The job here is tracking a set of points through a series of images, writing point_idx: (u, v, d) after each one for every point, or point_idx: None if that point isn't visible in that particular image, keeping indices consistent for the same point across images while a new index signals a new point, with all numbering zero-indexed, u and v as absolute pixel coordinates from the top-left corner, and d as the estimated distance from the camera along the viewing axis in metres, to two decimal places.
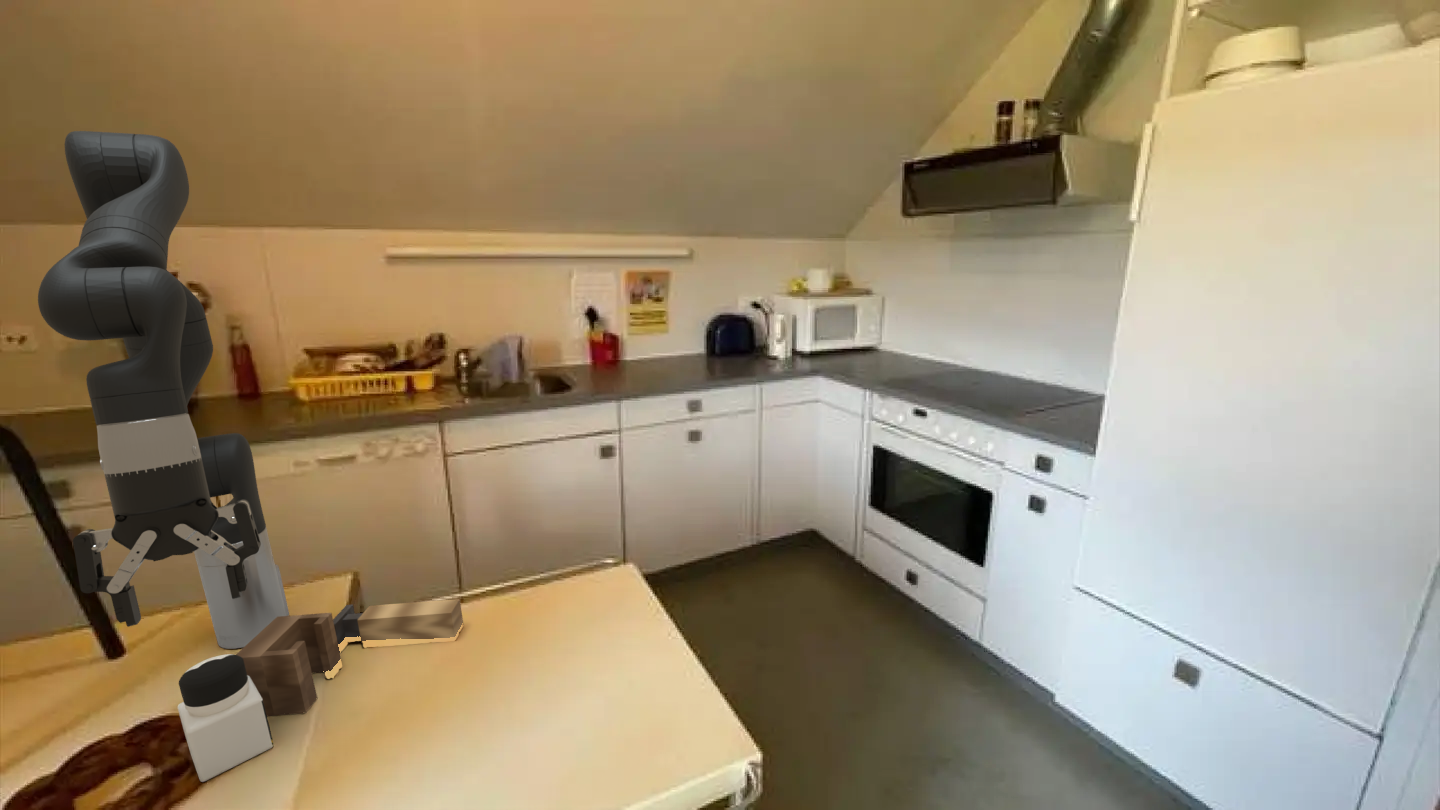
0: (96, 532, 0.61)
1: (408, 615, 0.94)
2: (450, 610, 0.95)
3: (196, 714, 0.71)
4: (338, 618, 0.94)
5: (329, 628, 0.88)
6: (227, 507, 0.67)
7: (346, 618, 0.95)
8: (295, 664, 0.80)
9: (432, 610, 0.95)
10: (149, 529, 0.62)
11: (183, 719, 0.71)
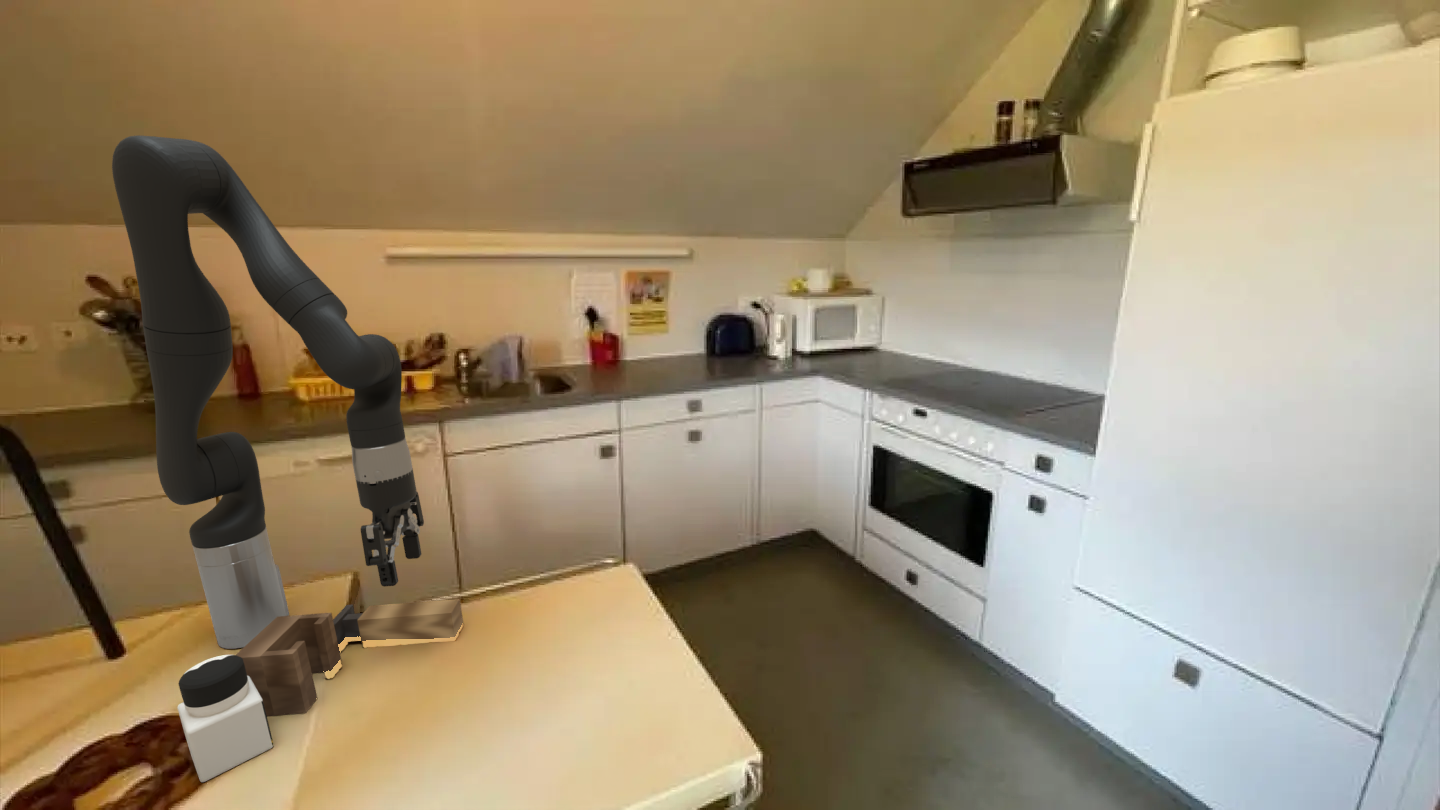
0: (376, 523, 0.86)
1: (408, 615, 0.94)
2: (450, 610, 0.95)
3: (196, 715, 0.71)
4: (338, 618, 0.94)
5: (329, 628, 0.88)
6: None
7: (346, 618, 0.95)
8: (295, 664, 0.80)
9: (432, 610, 0.95)
10: (399, 515, 0.91)
11: (183, 719, 0.71)
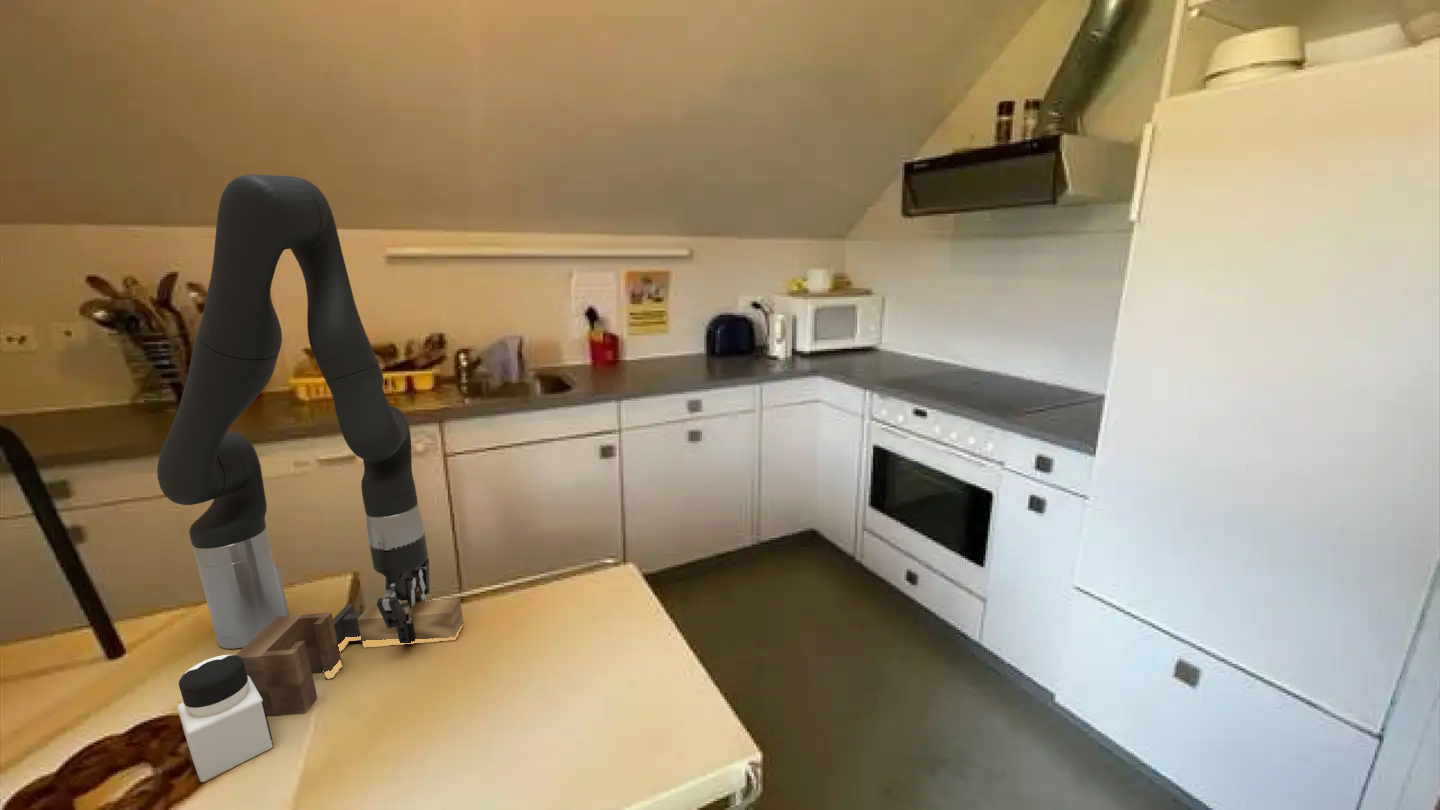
0: (391, 594, 0.89)
1: None
2: (450, 610, 0.95)
3: (196, 715, 0.71)
4: (338, 618, 0.94)
5: (329, 628, 0.88)
6: None
7: (346, 618, 0.95)
8: (295, 664, 0.80)
9: (432, 609, 0.95)
10: (410, 578, 0.93)
11: (183, 719, 0.71)
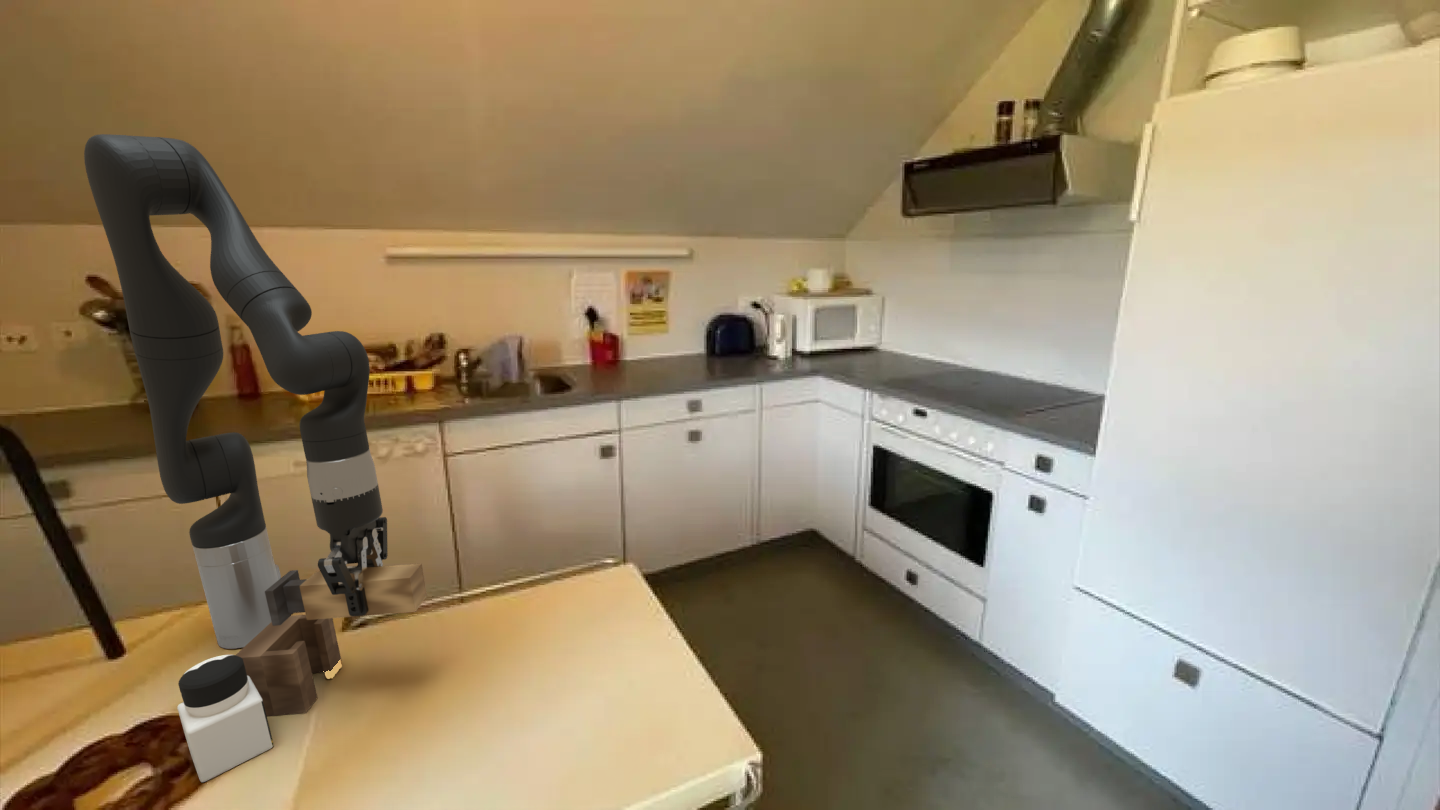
0: (335, 554, 0.76)
1: None
2: (409, 575, 0.81)
3: (196, 715, 0.71)
4: (278, 584, 0.80)
5: (329, 628, 0.88)
6: (375, 519, 0.86)
7: (288, 585, 0.81)
8: (295, 664, 0.80)
9: (388, 575, 0.82)
10: (360, 538, 0.80)
11: (183, 720, 0.71)
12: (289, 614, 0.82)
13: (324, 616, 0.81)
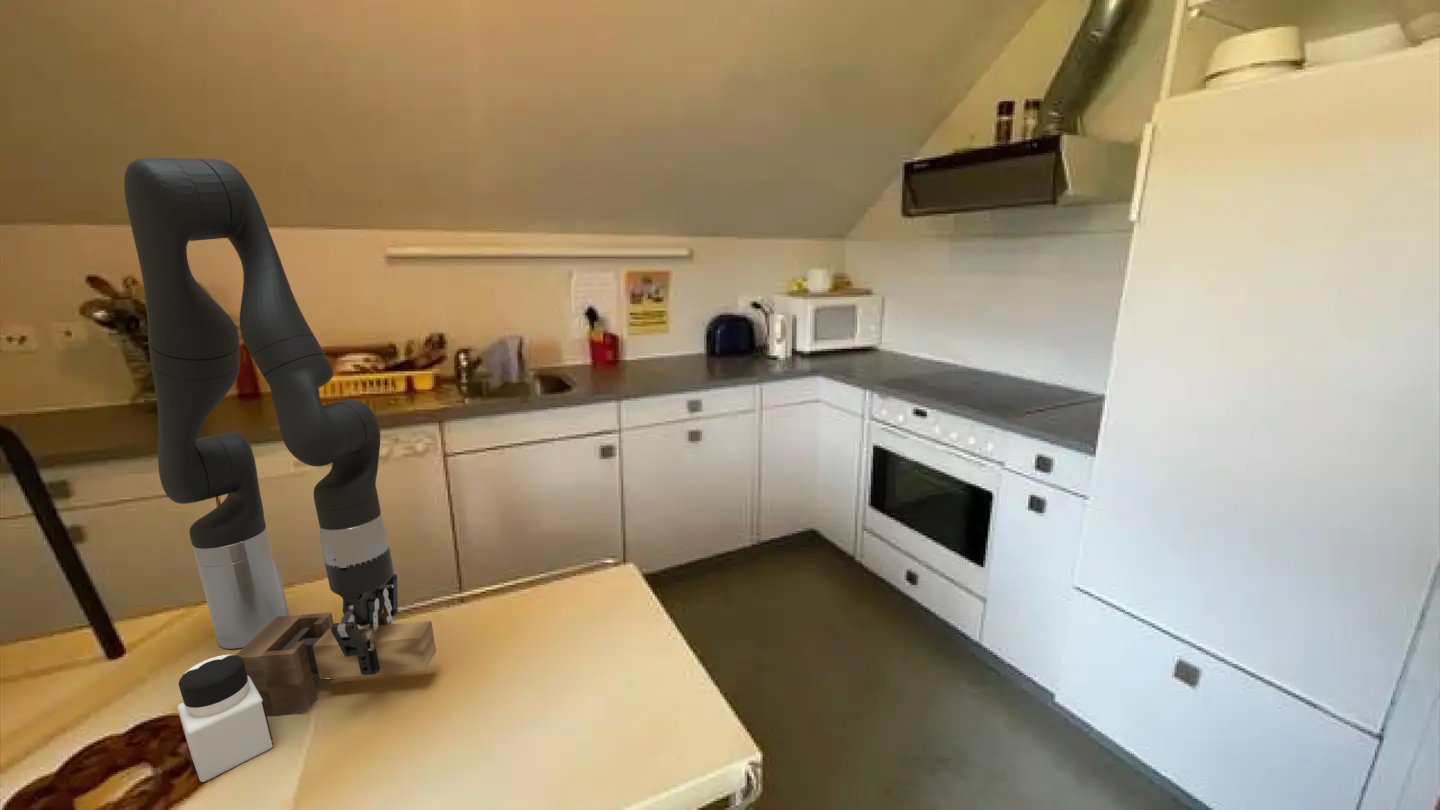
0: (348, 619, 0.78)
1: None
2: (419, 634, 0.84)
3: (196, 715, 0.71)
4: (291, 644, 0.82)
5: (329, 628, 0.88)
6: None
7: None
8: (295, 664, 0.80)
9: (398, 634, 0.84)
10: (372, 599, 0.82)
11: (183, 719, 0.71)
12: None
13: (337, 675, 0.83)
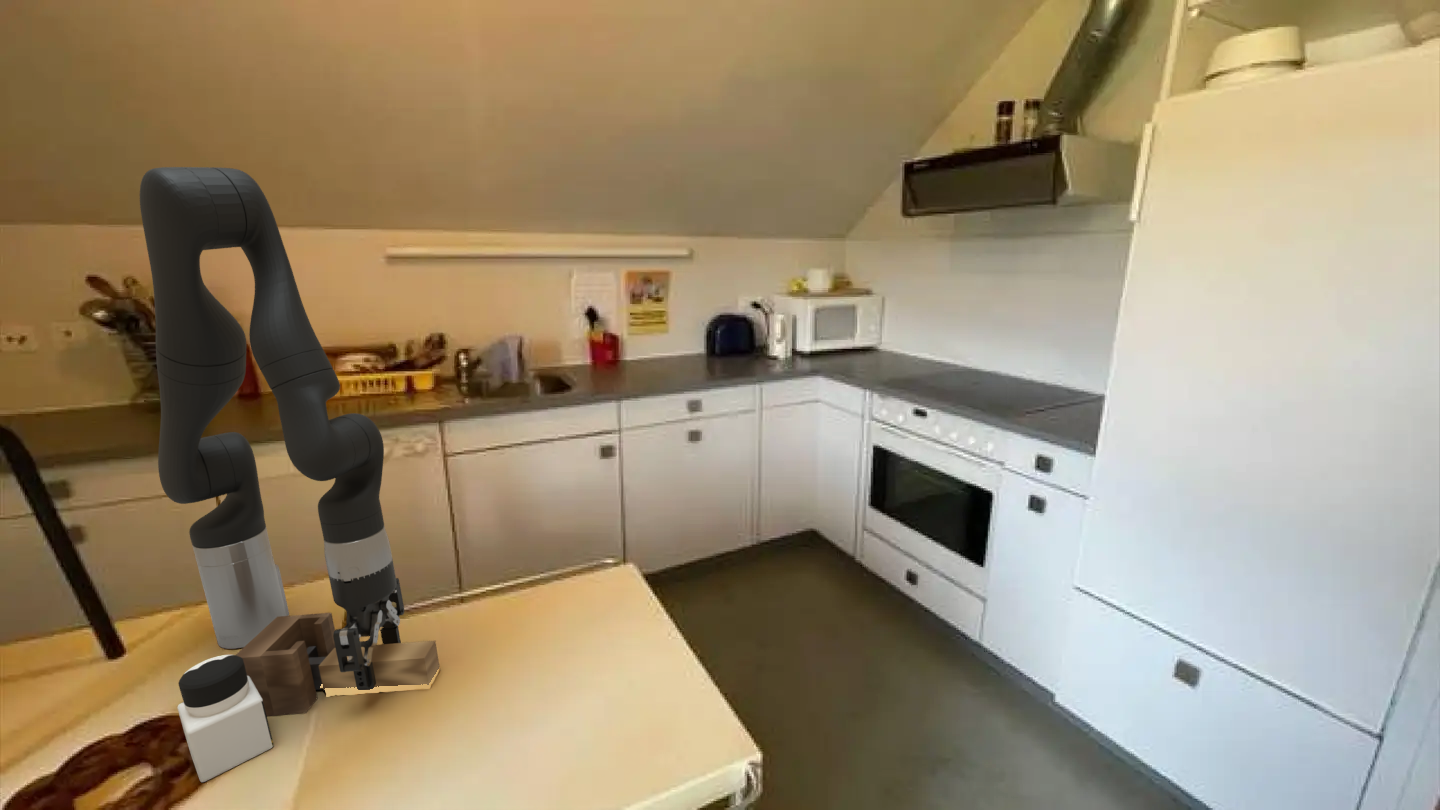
0: (351, 626, 0.78)
1: (375, 661, 0.83)
2: (423, 655, 0.85)
3: (196, 715, 0.71)
4: None
5: (329, 628, 0.88)
6: None
7: None
8: (295, 664, 0.80)
9: (403, 654, 0.85)
10: (376, 611, 0.82)
11: (183, 719, 0.71)
12: None
13: None
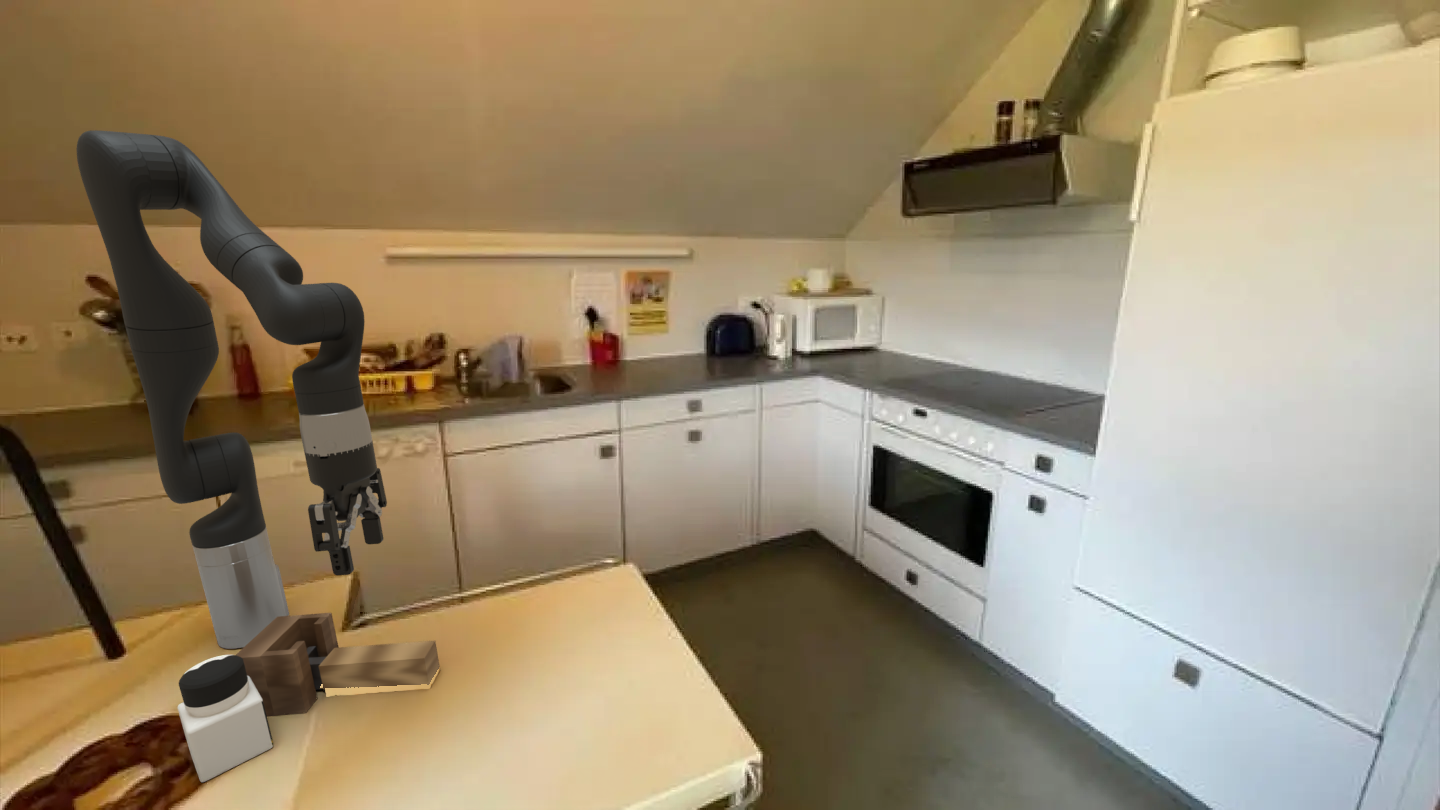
0: (328, 502, 0.74)
1: (375, 661, 0.83)
2: (423, 655, 0.85)
3: (196, 715, 0.71)
4: None
5: (329, 628, 0.88)
6: None
7: None
8: (295, 664, 0.80)
9: (403, 654, 0.85)
10: (355, 493, 0.79)
11: (183, 719, 0.71)
12: None
13: None
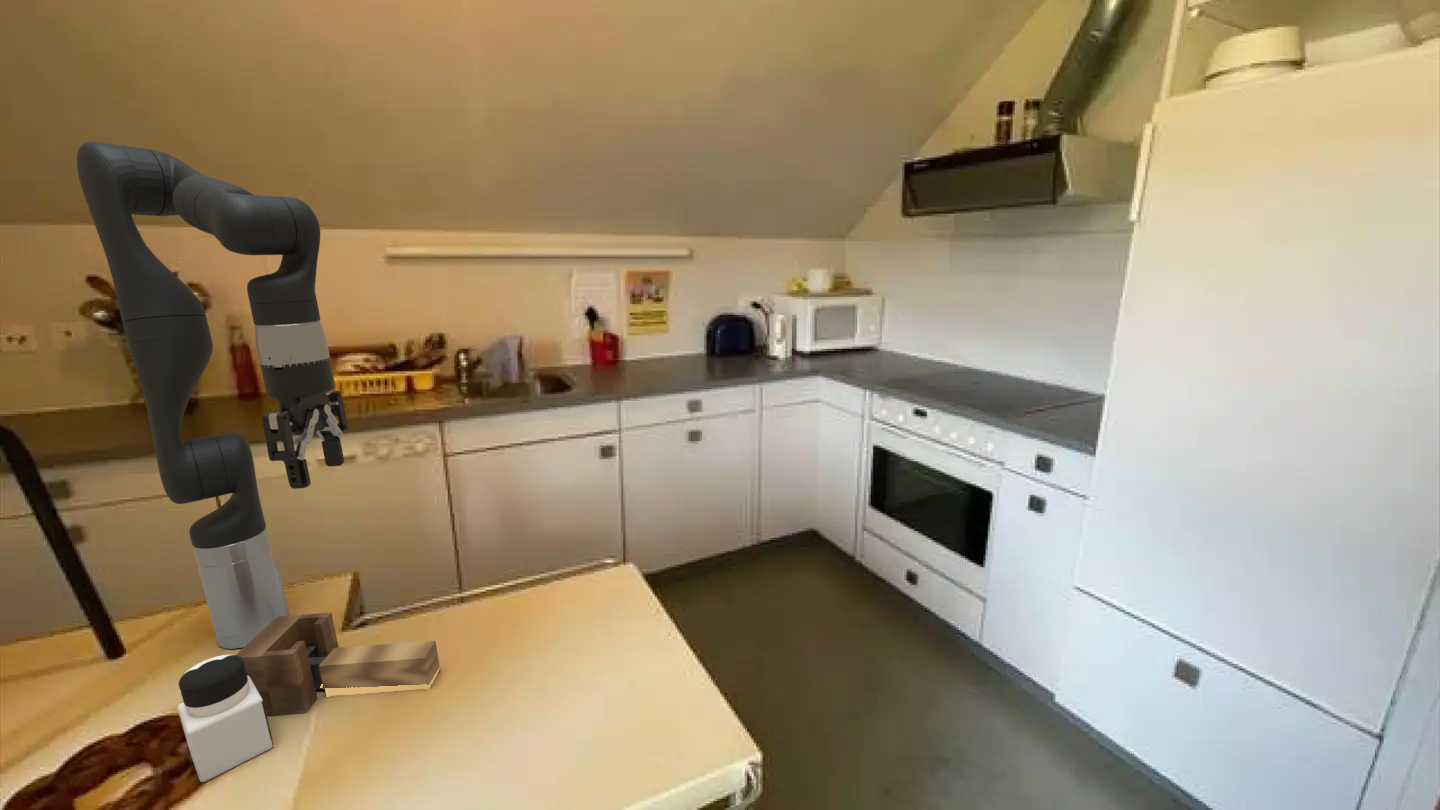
0: (282, 413, 0.75)
1: (376, 661, 0.84)
2: (423, 655, 0.85)
3: (196, 714, 0.71)
4: None
5: (329, 628, 0.88)
6: (328, 395, 0.85)
7: None
8: (295, 664, 0.80)
9: (403, 654, 0.85)
10: (312, 409, 0.79)
11: (183, 719, 0.71)
12: None
13: None
